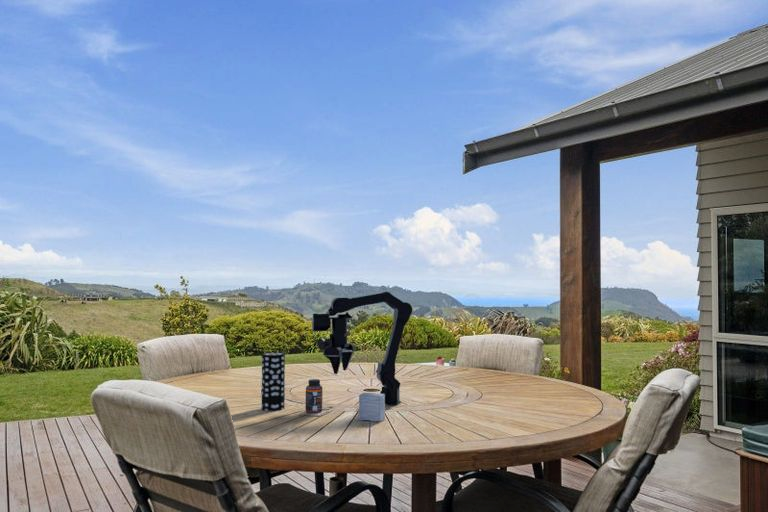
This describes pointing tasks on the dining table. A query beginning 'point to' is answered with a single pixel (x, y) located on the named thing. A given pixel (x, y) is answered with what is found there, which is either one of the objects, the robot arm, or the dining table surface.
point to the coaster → (313, 413)
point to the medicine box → (372, 406)
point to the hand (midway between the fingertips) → (340, 372)
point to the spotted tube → (273, 381)
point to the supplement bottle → (314, 396)
